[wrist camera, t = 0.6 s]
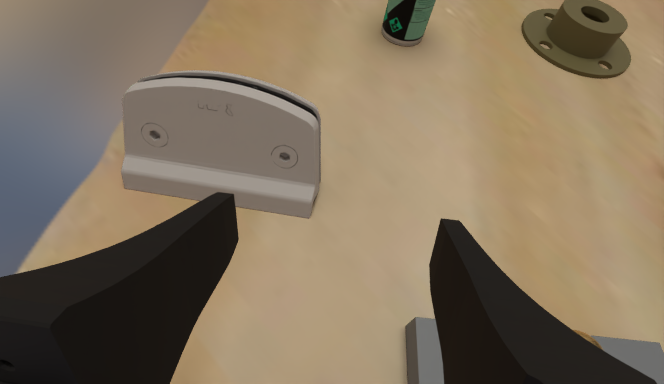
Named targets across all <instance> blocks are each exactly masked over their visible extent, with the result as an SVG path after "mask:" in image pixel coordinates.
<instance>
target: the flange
mask: <svg viewBox="0 0 664 384" xmlns="http://www.w3.org/2000/svg"><path fill="white" fill-rule="evenodd" d="M545 16H548V17H551V18H552V20H549V19H547V18H546V17H545ZM627 26H628V24H627V21H626V19H625V18H624V16H623V15H622V14H621V13H620V12H618V11H617V10H616V9H614V8H613V7H611V6H609V5H607V4H605V3H603V2H601V1H598V0H565V1H564V2H563V4H562V5H561V7H560V8H559V9H541V10H537V11H534V12H532V13H530V14H529V15H528V16H527V17H526V18H525V20H524V21H523V24H522V34H523V36H524V38H525V40H526V42H527V43H528V45H529V46H530V47H531V48H532V49H533V50H534V51H535V52H536V53H537V54H538V55H540V56H541V57H542V58H544V59H545V60H547V61H548V62H550V63H552V64H553V65H555V66H557V67H559V68H561V69H563V70H566V71H568V72H571V73H574V74H577V75H581V76H585V77H591V78H611V77H615V76H618V75H620V74H622V73H623V72H624V71H625V70H626V69H627V68H628V67H629V65H630V62H631V56H630V52H629V50H628V48H627V46H626V45H625V43H624V42H623V41H622V40H621V39H620V38H619V37H620V36H621V35H622V34H623V33H624V31H625V30H626V29H627ZM540 44H544V45H547V46H548V47H549V48H550V49H545V48H543V47H542V46H540ZM599 64H603V65H605V66H607V67H608V68H609V70H608V69H604V68H602V67H601V66H600V65H599Z"/></svg>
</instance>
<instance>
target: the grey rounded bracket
mask: <svg viewBox="0 0 664 384" xmlns="http://www.w3.org/2000/svg"><path fill="white" fill-rule="evenodd" d="M122 106H123V125H124V143H125V158H124V162H123V166H122V170H121V174H122V179H123V183H124V187H125V188H126V189H132V190H138V191H144V192H150V193H156V194H162V195H169V196H175V197H181V198H187V199H193V200H199V201H202V200H203V199H205V198H207V197H209V196H210V195H212V194H214V193H216V192H223V193H231V194H234V198H235V206H236V207H242V208H248V209H255V210H261V211H267V212H273V213H279V214H285V215H291V216H298V217H304V218H310V216H311V213H312V206H313V201H314V199H315V197H316V195H317V193H318V191H319V182H321V118H320V115H319V111H318V108H317V107H316V106H315V105H314V104H313V103H311V102H309V101H308V100H306V99H304V98H302V97H301V96H298V95H296V94H294V93H292V92H290V91H288V90H286V89H283V88H281V87H278V86H276V85H273V84H270V83H267V82H264V81H261V80H258V79H254V78H250V77H247V76H242V75H237V74H232V73H225V72H218V71H202V70H191V71H176V72H168V73H162V74H157V75H152V76H148V77H144V78H141V79H140V80H139V81H138V82H137V83H135V84H133V85H131V86H130V87H129V88H128V90H127V91H126V93H125V94H124V96H123V98H122Z"/></svg>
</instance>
